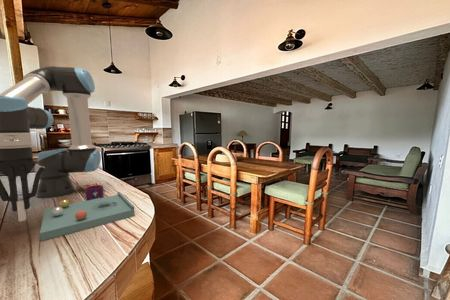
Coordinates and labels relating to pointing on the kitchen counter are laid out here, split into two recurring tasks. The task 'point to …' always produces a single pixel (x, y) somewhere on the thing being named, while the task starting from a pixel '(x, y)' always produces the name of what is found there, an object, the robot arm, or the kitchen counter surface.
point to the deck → (96, 215)
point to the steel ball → (57, 211)
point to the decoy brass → (64, 203)
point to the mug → (94, 192)
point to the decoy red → (81, 214)
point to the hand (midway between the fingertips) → (22, 219)
